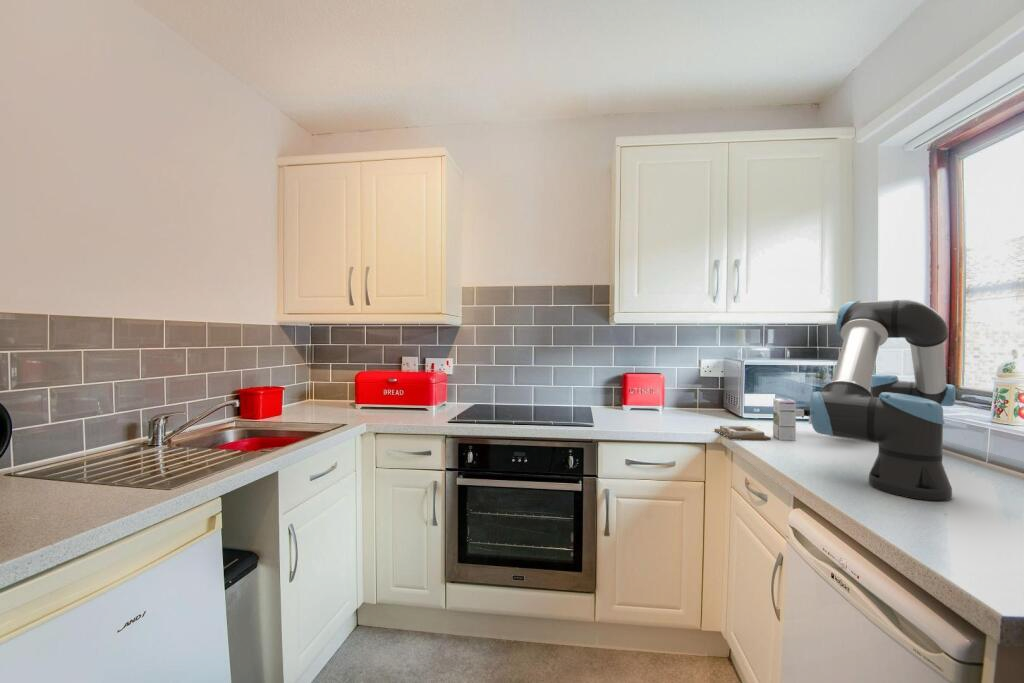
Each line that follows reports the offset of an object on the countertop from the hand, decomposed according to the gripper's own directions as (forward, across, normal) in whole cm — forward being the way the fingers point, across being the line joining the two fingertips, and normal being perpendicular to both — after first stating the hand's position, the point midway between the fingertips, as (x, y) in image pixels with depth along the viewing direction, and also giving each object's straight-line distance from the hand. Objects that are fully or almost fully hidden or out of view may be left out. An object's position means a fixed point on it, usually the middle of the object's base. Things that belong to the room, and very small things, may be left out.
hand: (797, 416), depth 160 cm
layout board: (+19, +3, -8) cm, 21 cm away
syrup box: (+5, 0, -9) cm, 10 cm away
